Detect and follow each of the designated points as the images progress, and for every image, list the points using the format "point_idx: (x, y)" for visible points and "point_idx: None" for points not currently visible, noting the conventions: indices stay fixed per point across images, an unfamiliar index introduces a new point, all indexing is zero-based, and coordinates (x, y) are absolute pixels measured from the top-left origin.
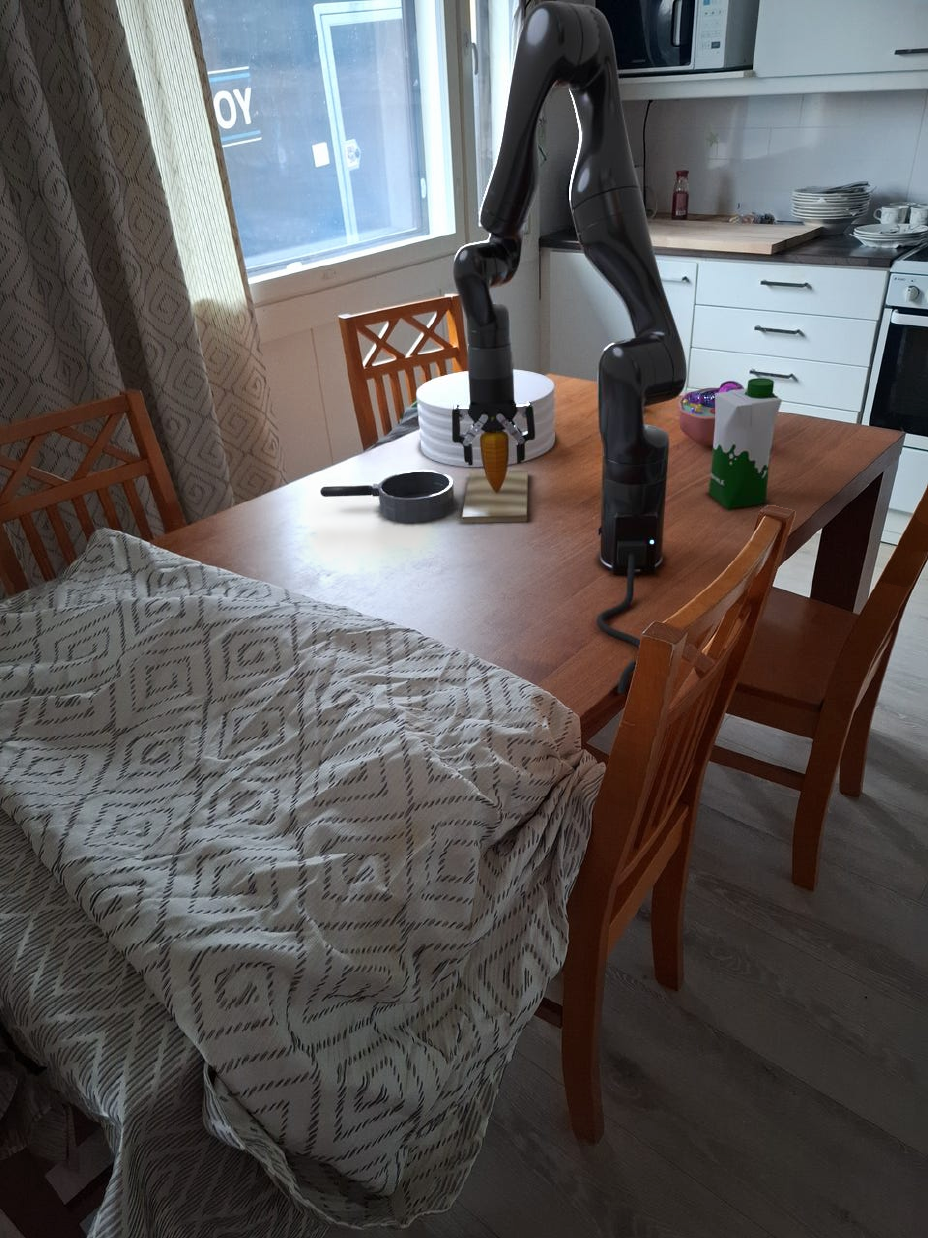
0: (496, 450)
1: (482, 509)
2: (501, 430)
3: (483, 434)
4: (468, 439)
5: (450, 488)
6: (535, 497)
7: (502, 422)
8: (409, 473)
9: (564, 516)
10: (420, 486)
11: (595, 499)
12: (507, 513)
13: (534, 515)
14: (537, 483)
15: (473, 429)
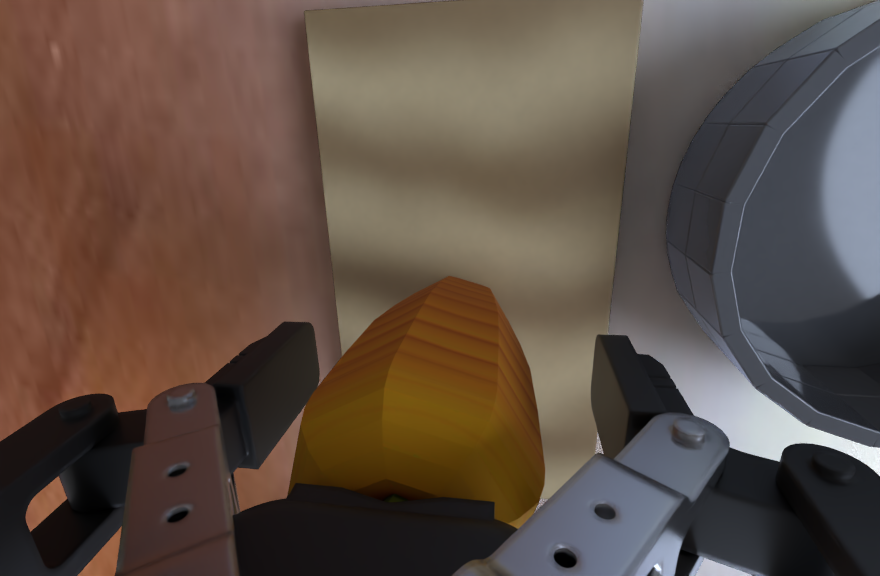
0: (401, 334)
1: (528, 89)
2: (298, 489)
3: (507, 499)
4: (672, 453)
5: (735, 171)
6: (312, 279)
7: (203, 539)
8: None
9: (170, 76)
10: (852, 383)
11: (93, 240)
12: (398, 33)
13: (293, 91)
14: None
15: (640, 519)
